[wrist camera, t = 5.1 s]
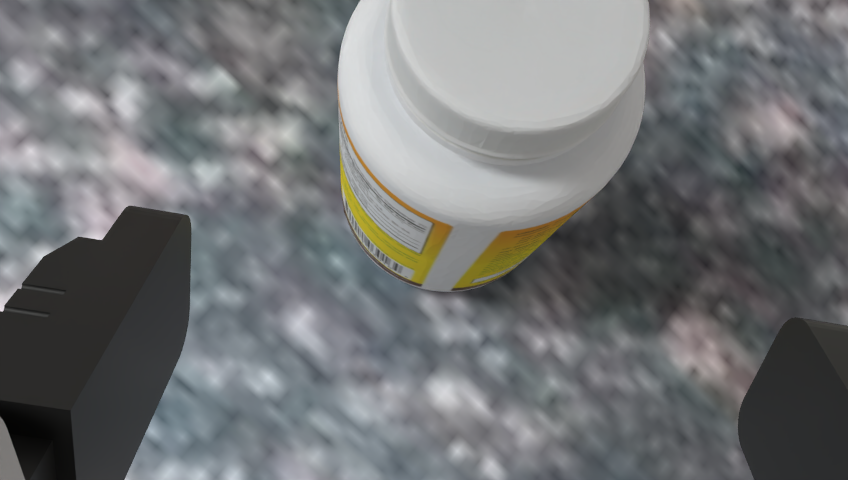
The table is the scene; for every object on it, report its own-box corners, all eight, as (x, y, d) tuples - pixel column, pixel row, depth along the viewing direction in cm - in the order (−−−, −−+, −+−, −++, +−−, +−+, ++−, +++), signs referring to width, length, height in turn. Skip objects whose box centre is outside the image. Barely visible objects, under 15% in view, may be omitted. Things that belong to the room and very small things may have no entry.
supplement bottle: (558, 125, 23) (729, -107, 13) (522, 316, 21) (681, 227, 11) (365, 78, 22) (383, -197, 12) (317, 269, 21) (293, 135, 11)
